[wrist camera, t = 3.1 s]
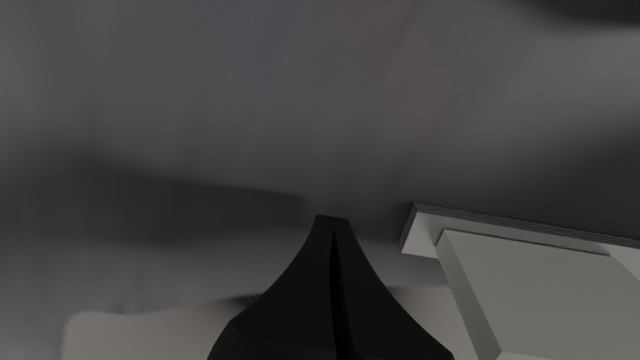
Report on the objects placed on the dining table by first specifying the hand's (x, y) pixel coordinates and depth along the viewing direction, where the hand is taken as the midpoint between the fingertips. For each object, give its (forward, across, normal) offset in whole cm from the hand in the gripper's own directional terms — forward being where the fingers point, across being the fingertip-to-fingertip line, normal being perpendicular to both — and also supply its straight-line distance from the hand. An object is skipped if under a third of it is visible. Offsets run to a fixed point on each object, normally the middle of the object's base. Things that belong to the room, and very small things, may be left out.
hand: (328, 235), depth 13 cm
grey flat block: (+2, -9, 0) cm, 9 cm away
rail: (+2, -12, 0) cm, 12 cm away
